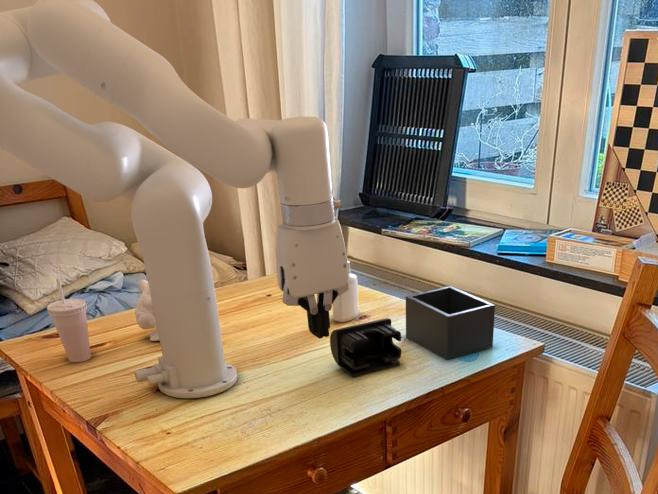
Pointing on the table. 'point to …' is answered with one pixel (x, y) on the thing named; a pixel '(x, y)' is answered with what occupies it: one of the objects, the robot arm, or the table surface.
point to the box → (450, 322)
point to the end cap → (366, 347)
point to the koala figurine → (146, 311)
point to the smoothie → (71, 326)
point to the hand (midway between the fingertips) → (320, 334)
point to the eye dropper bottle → (347, 301)
